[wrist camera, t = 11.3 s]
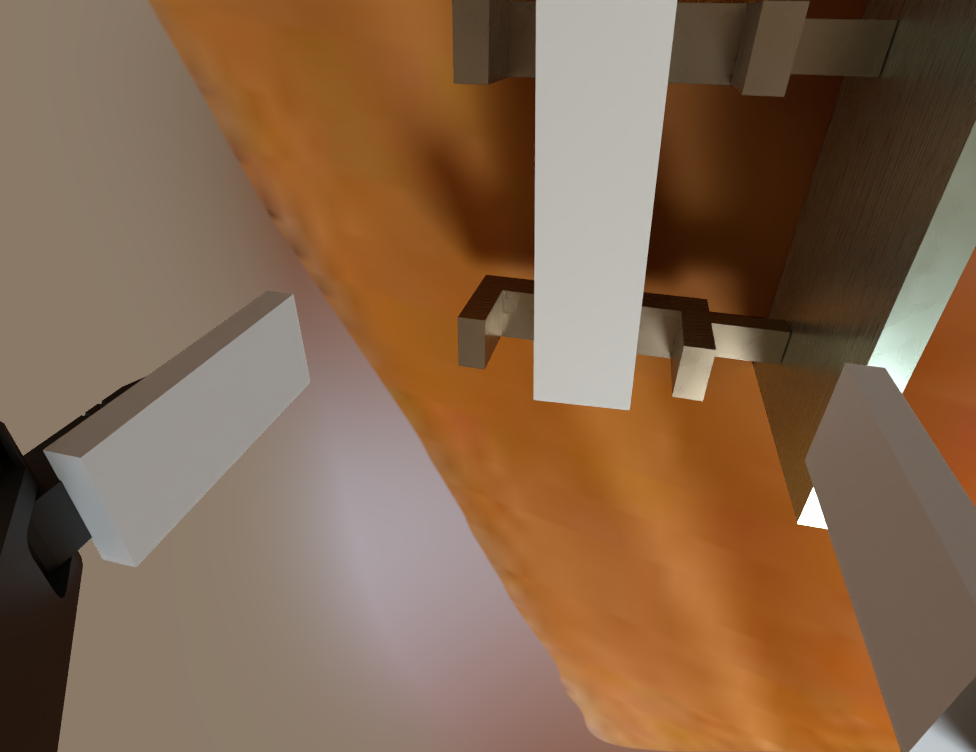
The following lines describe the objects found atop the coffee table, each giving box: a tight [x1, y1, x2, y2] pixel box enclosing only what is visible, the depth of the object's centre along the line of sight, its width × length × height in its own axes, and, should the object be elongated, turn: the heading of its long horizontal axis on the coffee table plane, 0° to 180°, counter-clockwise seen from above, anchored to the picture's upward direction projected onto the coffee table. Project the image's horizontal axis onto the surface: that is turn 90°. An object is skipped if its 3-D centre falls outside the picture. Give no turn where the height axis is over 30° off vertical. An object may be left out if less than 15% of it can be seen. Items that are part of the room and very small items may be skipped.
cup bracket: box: [452, 0, 976, 529], centre depth 26 cm, size 22×19×14 cm
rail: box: [534, 0, 677, 410], centre depth 27 cm, size 18×5×5 cm, turn 2°
